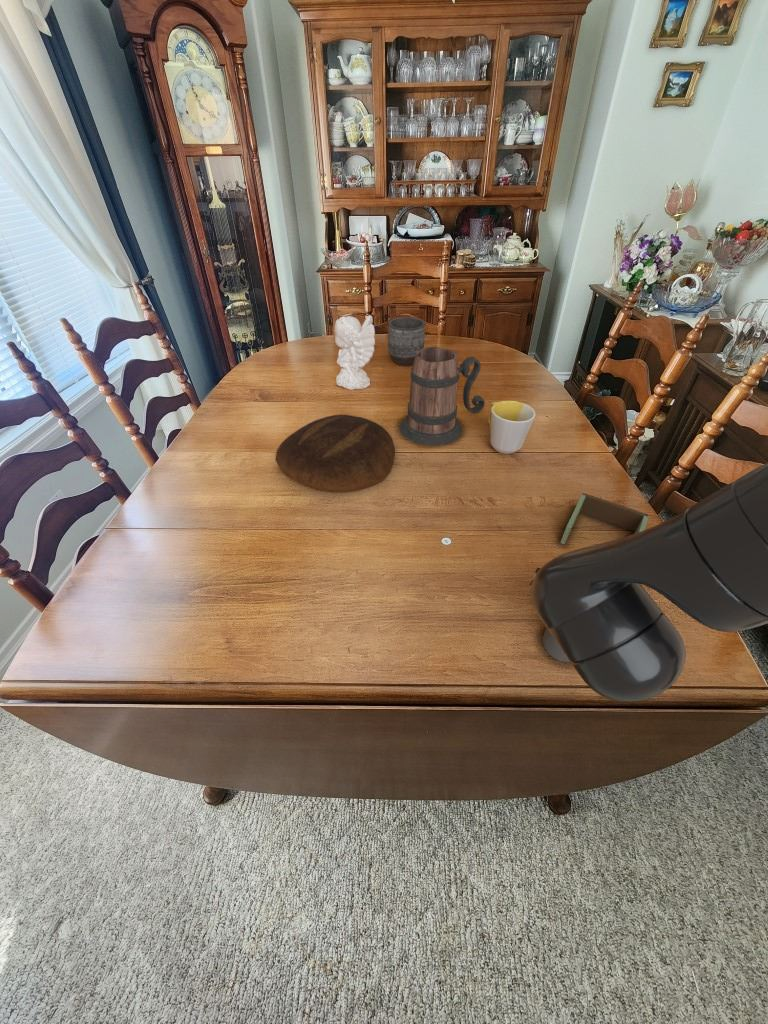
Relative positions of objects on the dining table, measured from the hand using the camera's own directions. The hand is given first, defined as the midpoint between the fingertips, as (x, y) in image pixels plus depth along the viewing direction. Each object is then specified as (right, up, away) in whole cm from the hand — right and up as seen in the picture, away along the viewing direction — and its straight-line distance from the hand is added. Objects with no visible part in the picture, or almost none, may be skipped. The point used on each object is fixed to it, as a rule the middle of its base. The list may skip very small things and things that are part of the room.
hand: (585, 595), depth 61 cm
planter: (-21, +64, +87) cm, 110 cm away
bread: (-40, +24, +43) cm, 63 cm away
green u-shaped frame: (+14, +7, +23) cm, 28 cm away
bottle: (-1, -9, +6) cm, 11 cm away
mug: (+2, +29, +48) cm, 56 cm away
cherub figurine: (-38, +54, +76) cm, 100 cm away
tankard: (-13, +35, +55) cm, 67 cm away
